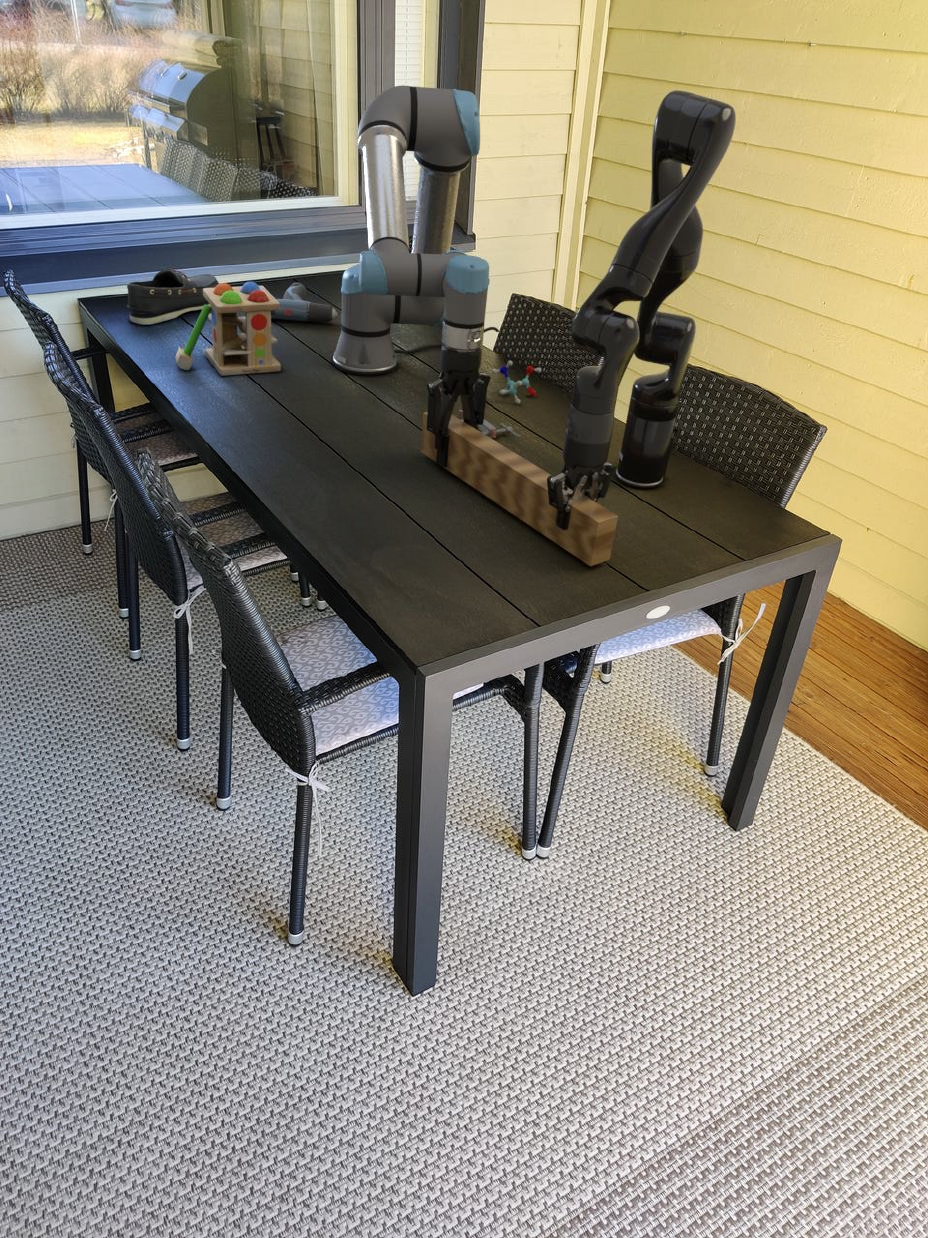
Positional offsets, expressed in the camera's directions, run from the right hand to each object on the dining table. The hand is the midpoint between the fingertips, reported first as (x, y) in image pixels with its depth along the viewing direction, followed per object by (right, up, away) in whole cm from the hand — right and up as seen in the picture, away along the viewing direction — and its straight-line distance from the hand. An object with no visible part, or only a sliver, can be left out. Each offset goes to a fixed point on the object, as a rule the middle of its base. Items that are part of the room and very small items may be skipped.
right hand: (573, 523), depth 169 cm
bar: (-11, +5, +13) cm, 18 cm away
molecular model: (-8, +35, +60) cm, 70 cm away
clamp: (-15, +24, +42) cm, 50 cm away
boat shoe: (-95, +66, +92) cm, 148 cm away
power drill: (-62, +67, +98) cm, 134 cm away
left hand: (-21, +15, +24) cm, 35 cm away
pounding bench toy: (-75, +43, +61) cm, 106 cm away
